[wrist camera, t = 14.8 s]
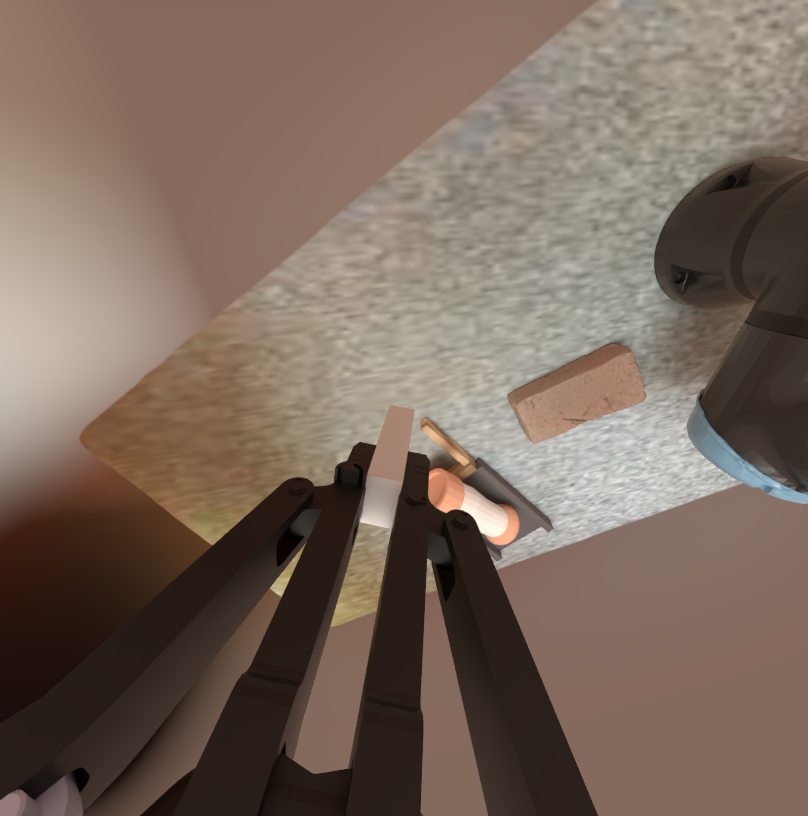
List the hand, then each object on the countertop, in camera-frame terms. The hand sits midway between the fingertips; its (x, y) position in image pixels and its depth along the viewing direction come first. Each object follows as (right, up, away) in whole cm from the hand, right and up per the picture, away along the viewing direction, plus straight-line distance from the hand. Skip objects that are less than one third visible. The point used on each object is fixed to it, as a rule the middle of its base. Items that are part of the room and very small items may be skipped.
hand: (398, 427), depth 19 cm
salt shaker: (+4, -11, +29) cm, 32 cm away
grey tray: (+16, -18, +40) cm, 47 cm away
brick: (+25, +4, +29) cm, 39 cm away
